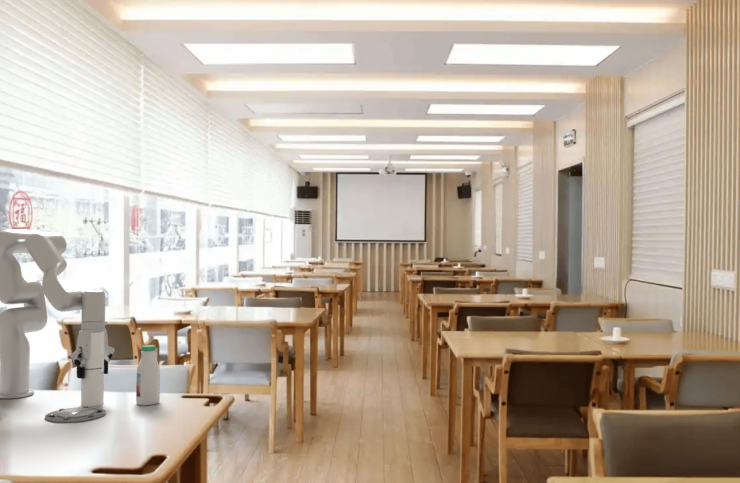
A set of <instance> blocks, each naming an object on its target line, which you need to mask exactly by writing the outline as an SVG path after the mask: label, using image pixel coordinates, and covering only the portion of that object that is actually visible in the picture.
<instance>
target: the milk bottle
mask: <svg viewBox="0 0 740 483" xmlns="http://www.w3.org/2000/svg"><path fill="white" fill-rule="evenodd" d="M159 365H160V364H159V363H158V360H157V358H156V345H155V344H146V345H141V358H140V360H139V363H138V365H137V368H136V383H135V384H136V392H135V393H136V394H135V395H136V398H135V399H136V400H135V402H136V404H137V405H139V406H153V405H156V404H159V403H160V399H161V398H160V397H161V392H160V391H161V387H160V385H161V384H160V380H161V373H160V372H161V371H160V366H159Z"/></svg>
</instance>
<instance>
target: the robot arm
mask: <svg viewBox="0 0 740 483" xmlns="http://www.w3.org/2000/svg"><path fill="white" fill-rule="evenodd" d="M66 250H67V242H66V239H65V237H64V236H63V235H62V234H60V233H58V232H51V231H41V230H34V229H13V228H12V229H11V228H9V229H4V230H3V229H1V230H0V302H1V304H3V305H21V304H23V306H20V307H12V308H11V307H10V308H7V309H5V310H3V311H1V312H0V399H4V400H5V399H20V398H25V397H29V396H32V395H34V394H35V390H34V389H31V388H30V365H31V364H30V359H31V358H30V356H31V353H30V352H31V351H30V347H31V346H30V342H29V340H28V338H27V336H26V334H27V333H33V332H39V331H42V330H43V329H45V328H46V325H47V323H48V312H47V311H48V310H47V305H46V304H47V303H46V299H47V301H48V303H49V304H50V305H51V306H52V307H53V309H55V310H57V311H59V312H62V313H63V312H73V311H81V325H80V326H81V327H80V329H81V330H79V331H78V335H77V339H76V348H75V350H74V351H73V352H72V353H71V354H70V355H69V358H70V359H71V363H73V364H74V366H75V367H76V378H77V379H84V378H85V367H83V365H84V364H85V362H86V360H89V358H90V351H91V333H94V332H102V331H104V375H108V374H109V363H110V362H111V359H112V358H113V354H114V353H115V351H116V350H115V349H116V348H114V347H112V346H110V345H109V339H108V332H107V328H106V326H107V325H108V322H107V321H106V293H105V291H104V290H102V289H89V288H68V289H64V288H63V286H62V284H61V283H60V281H59V280H58V276H59V275H61V274H62V273H63V272H64V271H65V270H66V269H67V266H68V262H67V260H66V259H65V258H64V257H63V254H64V253H65V251H66ZM14 253H15V254H25V253H26V254H27V253H28V254H29V255H30V257H31V259H32V260H33V261H34V262H35V264H36V265H37V267H38V268H39V270H40V271H41V273H42V274H43V276H42V281H41V282H40V281H39V280H38V279H37V278H34V277H24V276H23V274H22V273H23V272H22V267H21V265H20V262H19V261H18V259H17V258H16V257H15V255H13V254H14ZM82 356H83V357H82Z"/></svg>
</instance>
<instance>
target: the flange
mask: <svg viewBox="0 0 740 483" xmlns="http://www.w3.org/2000/svg"><path fill="white" fill-rule="evenodd" d="M106 415H107V410H106V409H104V408H101V407H97V406H91V407H88V406H79V407H78V406H77V407H68V408H59V409H57V410H54V411H51V412H47V413H46V414H45V416H44V419H45V420H46V421H47V422H49V423H50V422H51V423H57V424H72V423H73V424H74V423H82V422H88V421H94V420H99V419H100V418H103V417H105V416H106Z"/></svg>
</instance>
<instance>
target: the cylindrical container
mask: <svg viewBox="0 0 740 483" xmlns="http://www.w3.org/2000/svg"><path fill="white" fill-rule="evenodd" d="M82 357H83V356H82ZM83 367H85V378H84V379H81V378H80V379H81V382H80V384H81V386H80V388H81V389H80V391H81V392H80V395H81V397H80V399H81V400H80V405H81V406H80V407H84V406H88V407H98V406H102V405H103V404H104V399H105V398H104V393H105V392H104V391H105V389H104V388H105V386H104V385H105V384H104V383H105V382H104V379H105V374H104V331H102V332H94V333H91V351H90V358H89V360H86V362H85V364H84V365H83Z"/></svg>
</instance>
